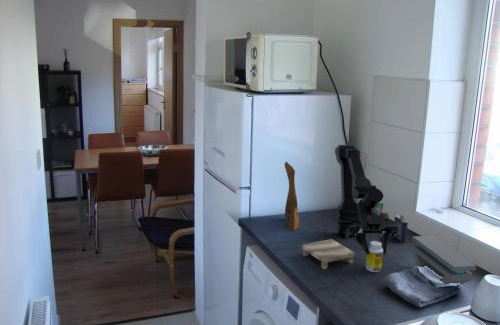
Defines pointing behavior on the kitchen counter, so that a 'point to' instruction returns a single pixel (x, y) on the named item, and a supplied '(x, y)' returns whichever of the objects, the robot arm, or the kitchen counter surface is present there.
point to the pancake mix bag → (291, 201)
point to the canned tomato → (379, 208)
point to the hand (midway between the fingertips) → (376, 254)
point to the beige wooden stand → (328, 252)
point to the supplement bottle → (374, 257)
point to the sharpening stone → (442, 260)
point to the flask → (401, 227)
